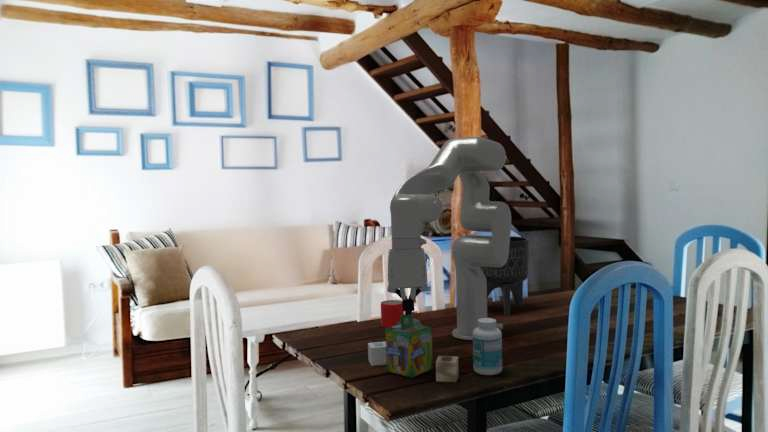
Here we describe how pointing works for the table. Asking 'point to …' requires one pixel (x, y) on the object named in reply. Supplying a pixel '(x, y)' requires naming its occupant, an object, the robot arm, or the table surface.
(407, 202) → the robot arm
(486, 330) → the pill bottle
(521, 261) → the planter
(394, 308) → the mug
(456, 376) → the marked block beech
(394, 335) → the chalk box
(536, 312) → the table surface
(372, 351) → the marked block white
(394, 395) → the table surface
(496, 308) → the table surface
